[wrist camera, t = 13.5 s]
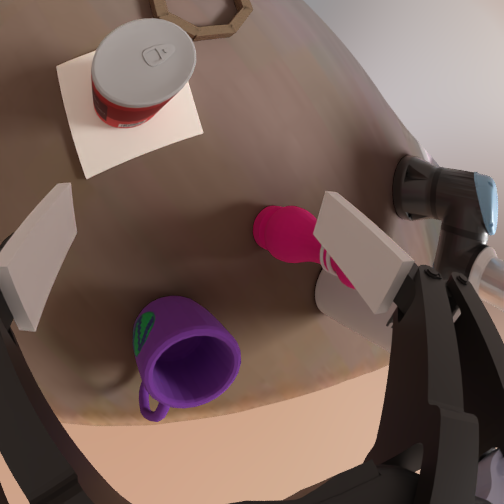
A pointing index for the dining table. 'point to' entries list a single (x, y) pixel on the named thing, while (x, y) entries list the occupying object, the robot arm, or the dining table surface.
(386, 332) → the cylinder vase
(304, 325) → the dining table surface
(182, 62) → the canned food
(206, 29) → the wooden polygonal ring
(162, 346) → the mug
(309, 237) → the pepper mill
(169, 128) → the coaster
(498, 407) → the robot arm
